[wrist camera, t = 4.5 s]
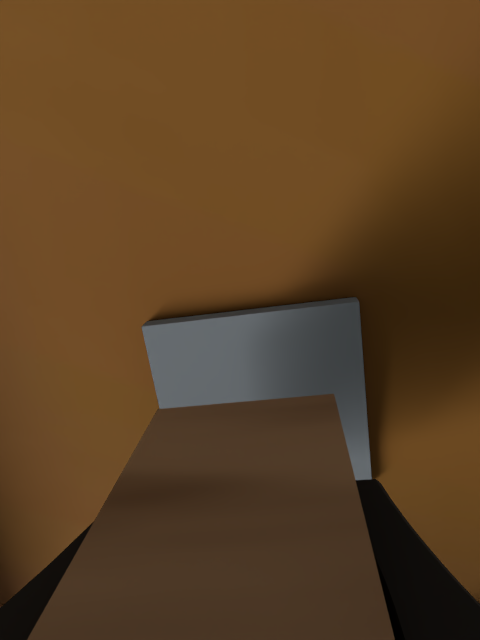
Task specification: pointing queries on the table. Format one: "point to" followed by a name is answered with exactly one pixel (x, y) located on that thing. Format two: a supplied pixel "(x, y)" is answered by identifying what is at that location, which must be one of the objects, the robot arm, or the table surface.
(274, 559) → the walnut block
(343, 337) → the slate coaster
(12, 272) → the table surface
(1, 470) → the table surface
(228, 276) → the table surface
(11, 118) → the table surface
